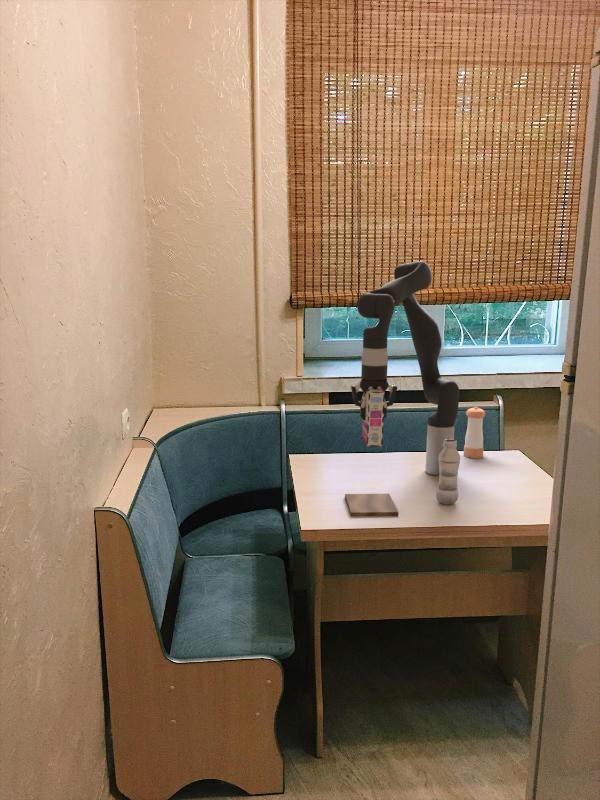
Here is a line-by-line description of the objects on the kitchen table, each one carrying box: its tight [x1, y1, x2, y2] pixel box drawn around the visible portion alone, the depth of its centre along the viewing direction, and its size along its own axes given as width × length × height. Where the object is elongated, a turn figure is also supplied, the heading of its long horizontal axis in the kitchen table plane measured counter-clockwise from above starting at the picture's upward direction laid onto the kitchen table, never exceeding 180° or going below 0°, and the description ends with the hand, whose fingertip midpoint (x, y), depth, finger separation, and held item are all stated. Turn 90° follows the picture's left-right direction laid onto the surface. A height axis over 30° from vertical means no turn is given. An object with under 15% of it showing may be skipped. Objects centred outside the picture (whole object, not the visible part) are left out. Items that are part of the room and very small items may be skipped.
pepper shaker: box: [463, 406, 486, 459], centre depth 265 cm, size 7×7×19 cm
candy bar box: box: [361, 389, 386, 448], centre depth 207 cm, size 11×5×16 cm, turn 3°
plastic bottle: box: [435, 439, 461, 505], centre depth 214 cm, size 6×7×20 cm
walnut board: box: [344, 493, 399, 517], centre depth 213 cm, size 14×16×1 cm
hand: (373, 419), depth 207 cm, fingers closed on candy bar box, 5 cm apart
